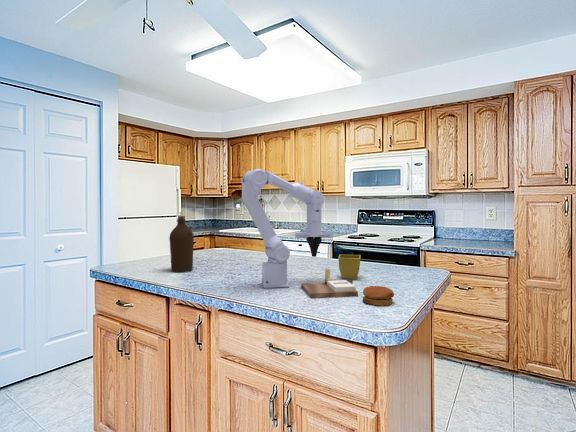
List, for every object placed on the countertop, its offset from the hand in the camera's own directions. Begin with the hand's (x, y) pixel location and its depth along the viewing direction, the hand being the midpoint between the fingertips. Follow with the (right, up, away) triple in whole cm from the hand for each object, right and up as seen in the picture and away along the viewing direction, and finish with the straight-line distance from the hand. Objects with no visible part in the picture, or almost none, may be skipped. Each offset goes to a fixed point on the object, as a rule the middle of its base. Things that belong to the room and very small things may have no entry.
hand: (313, 256), depth 140 cm
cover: (+8, -9, -17) cm, 21 cm away
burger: (+18, -11, -28) cm, 35 cm away
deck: (+4, -11, -16) cm, 19 cm away
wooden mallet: (+8, -9, -10) cm, 15 cm away
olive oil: (-59, -9, +24) cm, 64 cm away
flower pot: (+15, -10, +7) cm, 19 cm away
